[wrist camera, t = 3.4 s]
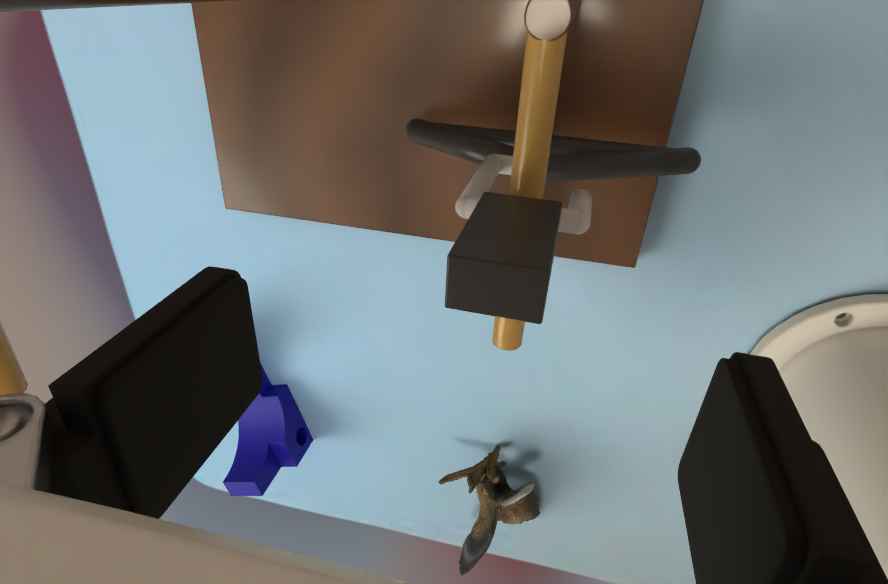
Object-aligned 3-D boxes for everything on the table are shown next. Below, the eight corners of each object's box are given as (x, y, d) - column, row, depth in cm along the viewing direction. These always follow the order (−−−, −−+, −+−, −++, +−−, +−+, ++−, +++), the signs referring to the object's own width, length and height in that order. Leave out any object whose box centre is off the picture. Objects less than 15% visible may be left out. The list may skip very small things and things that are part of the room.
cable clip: (313, 440, 46) (278, 496, 41) (269, 441, 48) (230, 495, 43) (256, 321, 41) (209, 369, 36) (210, 327, 43) (158, 373, 38)
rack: (702, -14, 25) (962, -8, 7) (634, 259, 32) (682, 592, 14) (197, -41, 29) (-380, -78, 12) (235, 202, 36) (-93, 402, 19)
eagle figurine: (423, 452, 42) (444, 547, 45) (451, 506, 36) (473, 613, 38) (512, 423, 44) (527, 515, 46) (555, 468, 37) (569, 573, 40)
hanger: (703, 141, 25) (812, 311, 12) (693, 175, 26) (786, 368, 13) (409, 110, 28) (240, 222, 15) (409, 142, 29) (248, 273, 16)
